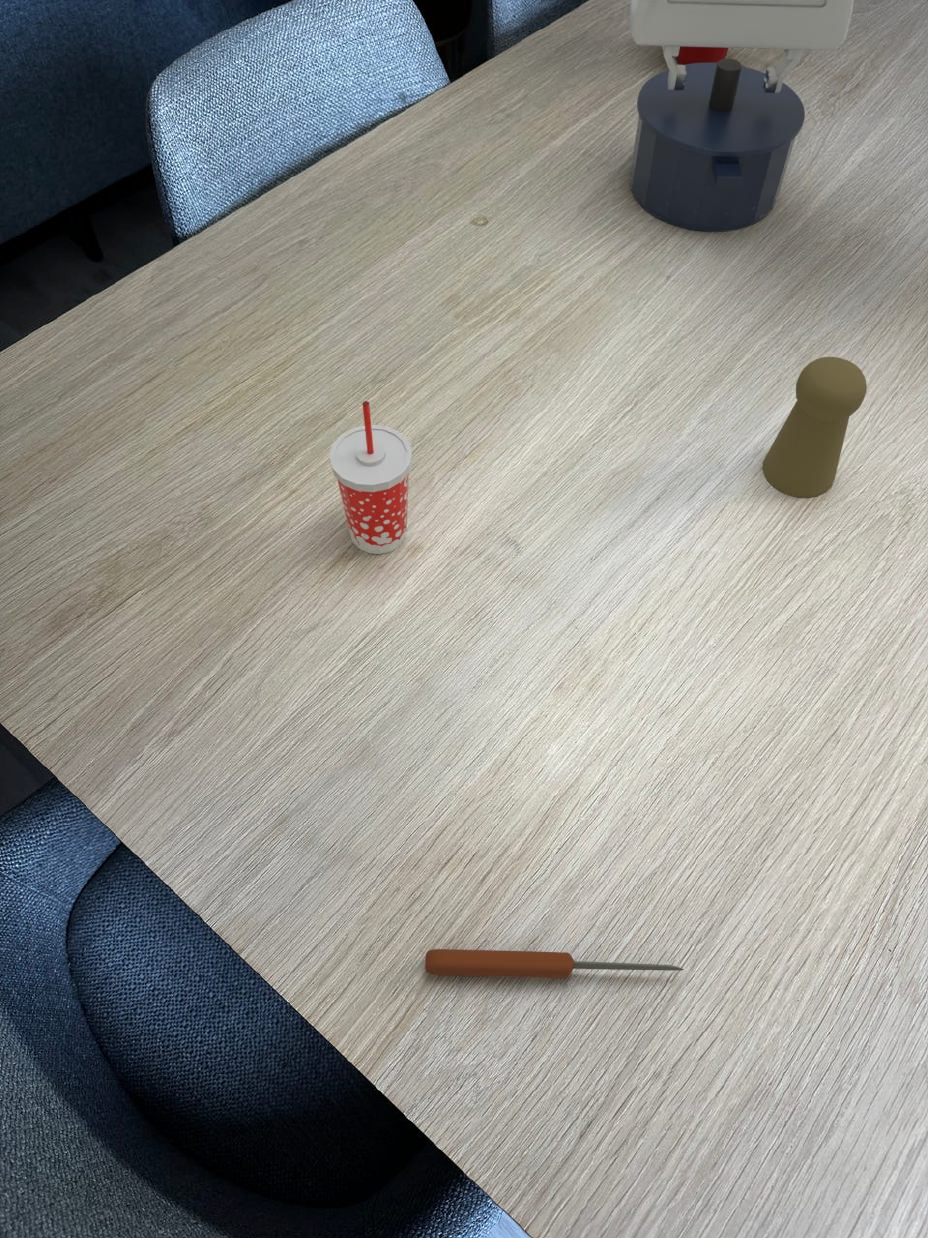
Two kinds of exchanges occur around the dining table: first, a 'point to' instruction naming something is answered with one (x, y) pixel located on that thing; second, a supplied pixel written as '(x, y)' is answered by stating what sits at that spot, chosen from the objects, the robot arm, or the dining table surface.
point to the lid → (721, 111)
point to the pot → (704, 184)
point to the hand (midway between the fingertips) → (723, 88)
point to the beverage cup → (373, 484)
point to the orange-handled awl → (517, 964)
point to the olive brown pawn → (815, 428)
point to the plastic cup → (700, 54)
